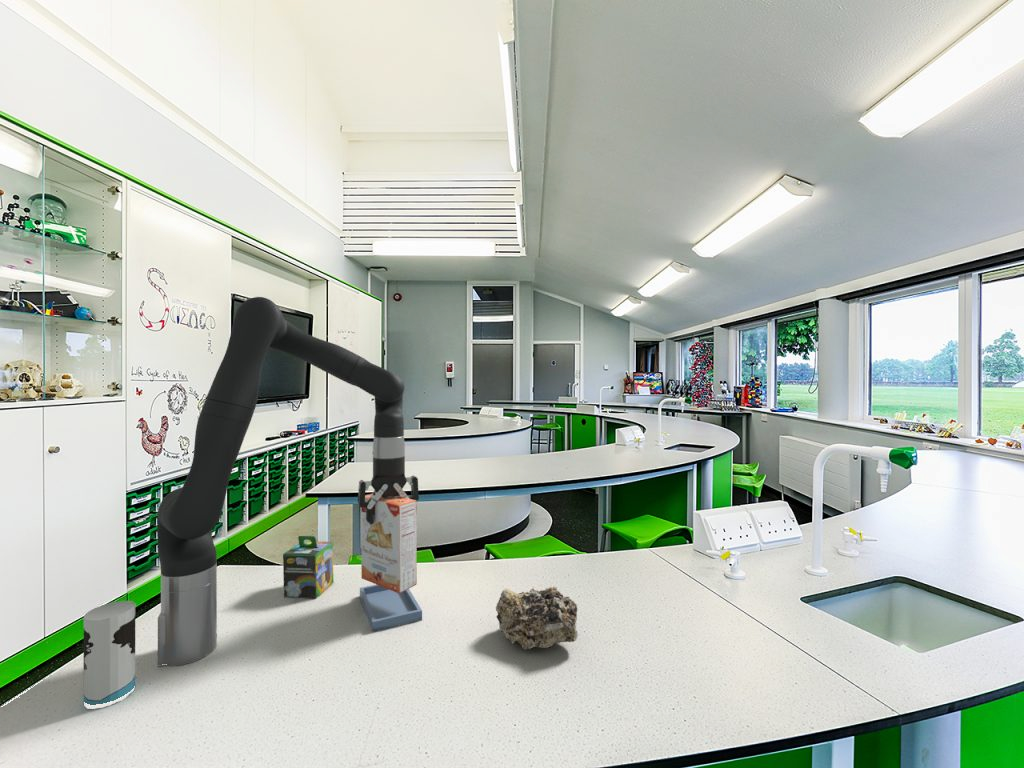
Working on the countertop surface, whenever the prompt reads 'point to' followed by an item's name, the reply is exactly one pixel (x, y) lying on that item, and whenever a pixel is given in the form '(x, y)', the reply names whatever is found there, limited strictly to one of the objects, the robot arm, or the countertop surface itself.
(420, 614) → the tray
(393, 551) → the cracker box
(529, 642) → the mineral specimen
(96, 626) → the white cylindrical canister
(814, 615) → the countertop surface
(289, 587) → the chalk box
